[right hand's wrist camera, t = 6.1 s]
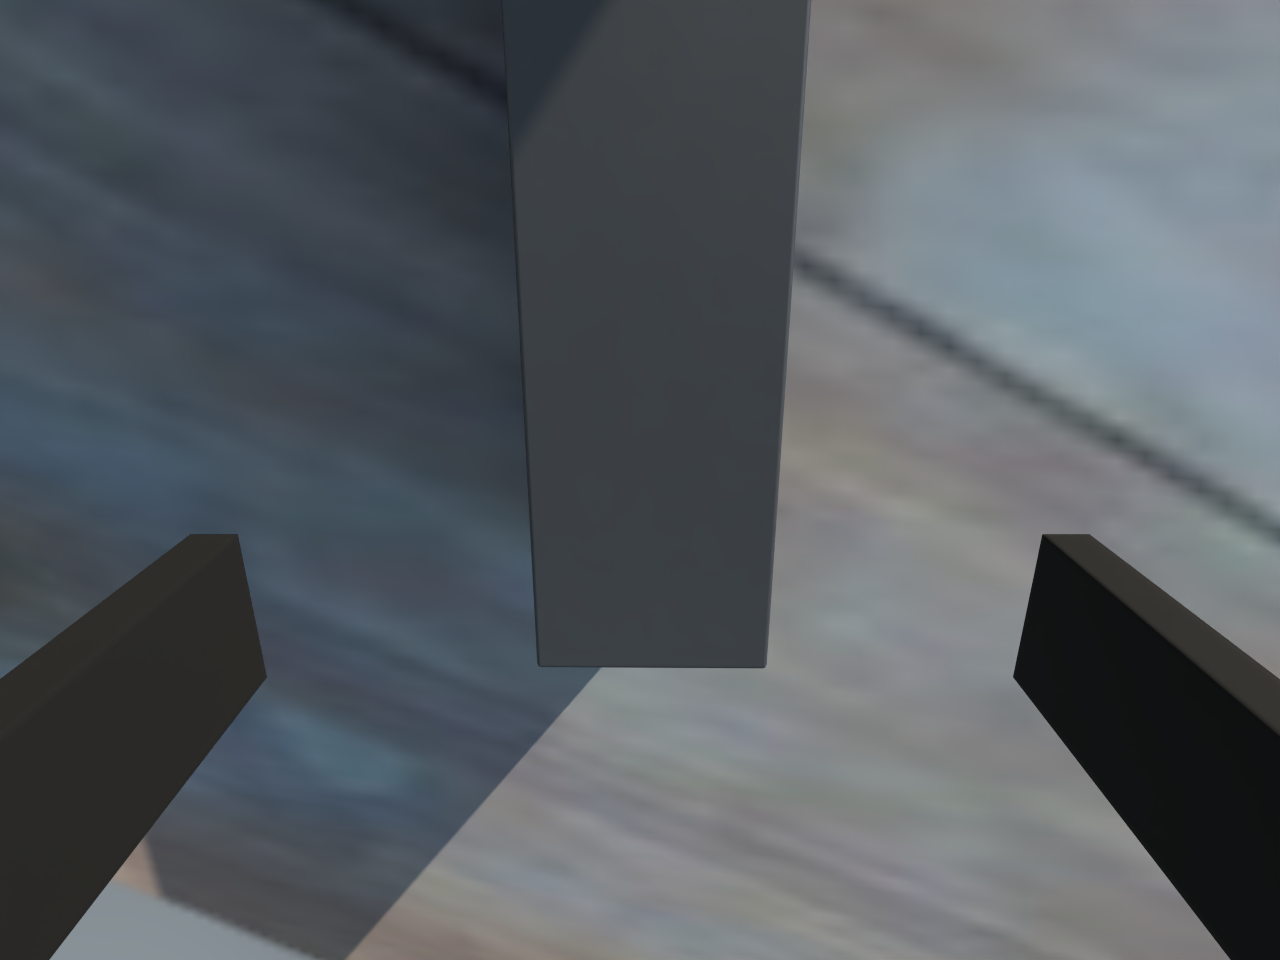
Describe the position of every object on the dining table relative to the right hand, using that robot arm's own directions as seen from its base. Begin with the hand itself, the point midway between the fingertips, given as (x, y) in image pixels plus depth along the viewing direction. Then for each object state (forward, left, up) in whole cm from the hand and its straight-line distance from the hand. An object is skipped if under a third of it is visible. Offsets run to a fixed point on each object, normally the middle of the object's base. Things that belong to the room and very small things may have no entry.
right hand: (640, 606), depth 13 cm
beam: (+12, 0, -11) cm, 16 cm away
